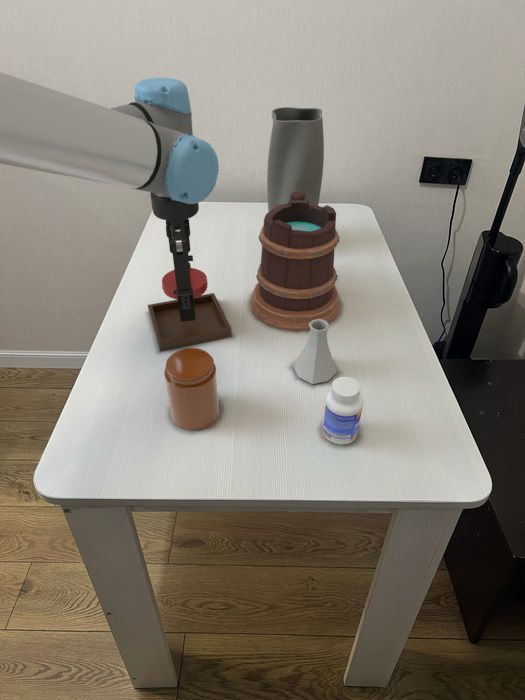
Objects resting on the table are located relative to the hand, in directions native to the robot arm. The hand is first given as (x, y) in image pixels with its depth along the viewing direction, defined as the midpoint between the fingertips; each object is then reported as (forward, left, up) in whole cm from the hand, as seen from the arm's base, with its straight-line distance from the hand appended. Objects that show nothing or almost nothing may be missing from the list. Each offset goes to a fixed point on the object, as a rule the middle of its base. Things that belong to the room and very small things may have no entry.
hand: (187, 305), depth 93 cm
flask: (+18, -20, -5) cm, 27 cm away
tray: (0, 0, -4) cm, 4 cm away
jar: (-4, -23, -4) cm, 24 cm away
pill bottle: (+16, -34, -5) cm, 38 cm away
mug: (+23, +2, -5) cm, 23 cm away
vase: (+31, +24, -5) cm, 39 cm away
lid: (0, 0, +6) cm, 6 cm away
